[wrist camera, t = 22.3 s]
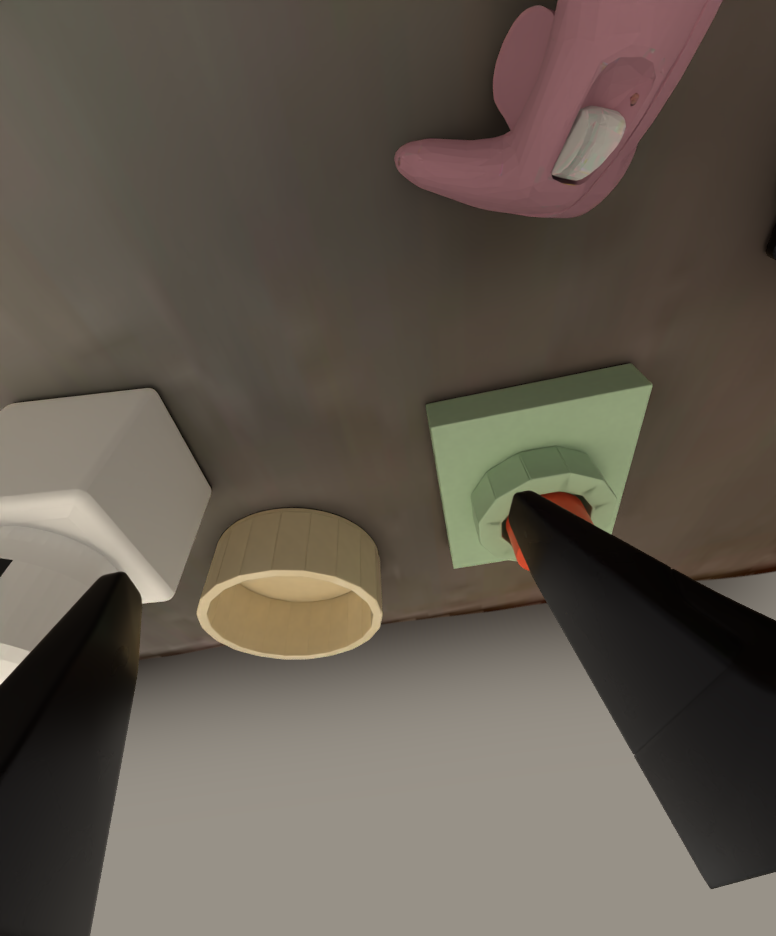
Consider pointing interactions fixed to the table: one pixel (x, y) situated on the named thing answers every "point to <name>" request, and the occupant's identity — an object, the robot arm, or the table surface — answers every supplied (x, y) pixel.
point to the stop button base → (534, 452)
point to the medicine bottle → (90, 506)
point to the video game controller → (567, 106)
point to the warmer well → (293, 585)
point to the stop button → (560, 499)
